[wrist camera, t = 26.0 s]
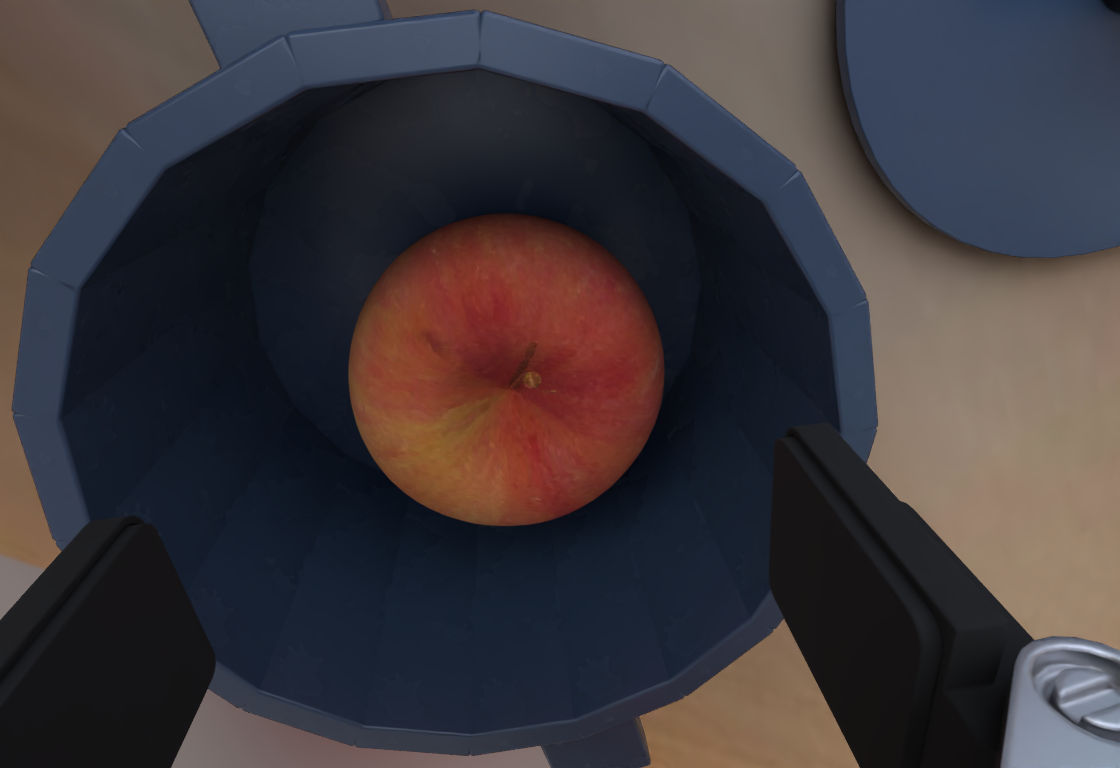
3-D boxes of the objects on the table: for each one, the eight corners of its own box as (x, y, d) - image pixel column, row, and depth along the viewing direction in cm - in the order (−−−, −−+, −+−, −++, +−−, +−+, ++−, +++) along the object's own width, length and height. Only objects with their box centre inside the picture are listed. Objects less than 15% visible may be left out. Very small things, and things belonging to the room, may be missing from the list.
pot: (638, -170, 15) (813, -451, 7) (759, 493, 24) (902, 728, 16) (67, 22, 16) (-411, -20, 8) (386, 600, 25) (330, 881, 16)
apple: (378, 417, 21) (325, 602, 14) (374, 174, 18) (303, 247, 10) (608, 425, 22) (671, 601, 15) (642, 197, 19) (743, 278, 12)
